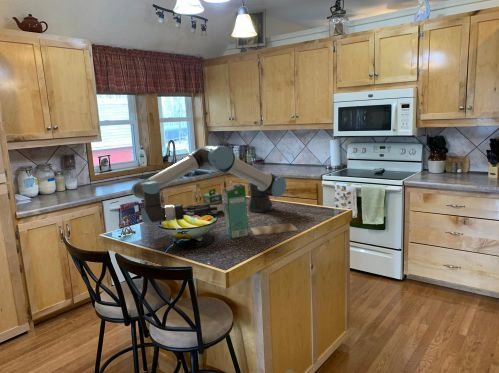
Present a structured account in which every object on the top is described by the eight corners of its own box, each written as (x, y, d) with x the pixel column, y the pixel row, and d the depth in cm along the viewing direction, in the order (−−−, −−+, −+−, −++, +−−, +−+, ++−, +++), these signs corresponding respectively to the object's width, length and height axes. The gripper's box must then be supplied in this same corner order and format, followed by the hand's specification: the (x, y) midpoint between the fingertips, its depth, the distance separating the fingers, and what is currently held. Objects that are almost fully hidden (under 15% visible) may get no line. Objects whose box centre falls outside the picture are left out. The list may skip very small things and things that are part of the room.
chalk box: (215, 209, 248) (213, 187, 245) (223, 212, 241) (221, 188, 238) (203, 212, 243) (201, 189, 240) (211, 215, 236) (209, 191, 233)
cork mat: (254, 235, 191) (254, 234, 191) (250, 228, 203) (250, 227, 203) (297, 230, 195) (297, 229, 195) (291, 224, 206) (291, 223, 206)
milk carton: (225, 233, 198) (222, 185, 193) (242, 230, 201) (239, 183, 196) (231, 238, 190) (227, 188, 185) (248, 235, 192) (245, 185, 188)
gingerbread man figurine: (122, 237, 203) (119, 215, 201) (117, 236, 205) (114, 214, 203) (136, 232, 210) (133, 211, 208) (131, 231, 212) (129, 210, 210)
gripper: (175, 216, 194) (222, 211, 198) (175, 223, 181) (225, 217, 185) (174, 201, 193) (221, 196, 196) (173, 207, 180) (224, 202, 184)
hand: (223, 207), depth 191 cm, fingers closed
